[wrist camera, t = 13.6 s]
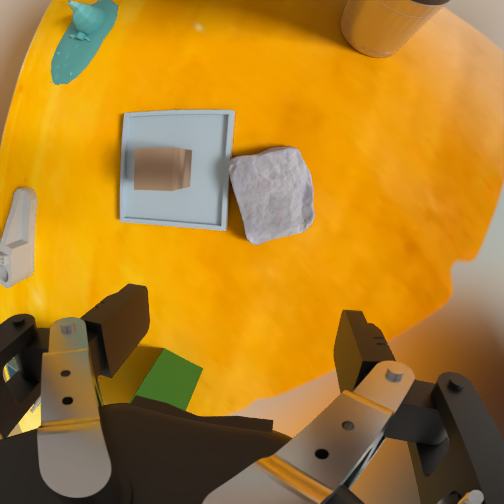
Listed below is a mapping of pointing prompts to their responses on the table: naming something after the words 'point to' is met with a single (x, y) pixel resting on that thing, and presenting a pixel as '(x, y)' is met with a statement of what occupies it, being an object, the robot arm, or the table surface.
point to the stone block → (273, 193)
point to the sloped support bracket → (18, 239)
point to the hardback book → (170, 380)
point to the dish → (202, 167)
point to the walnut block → (162, 169)
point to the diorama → (82, 39)
